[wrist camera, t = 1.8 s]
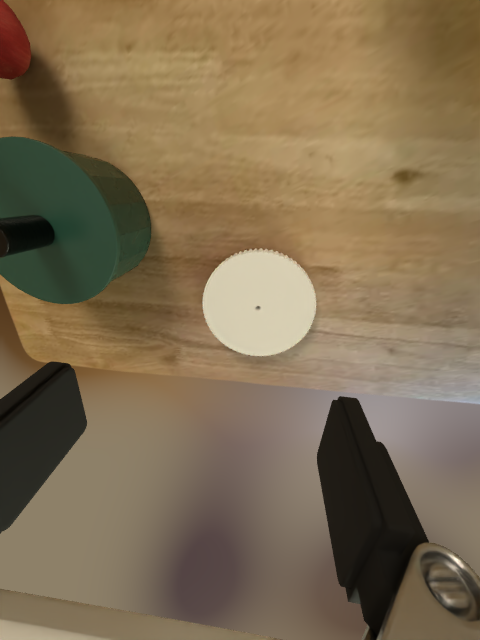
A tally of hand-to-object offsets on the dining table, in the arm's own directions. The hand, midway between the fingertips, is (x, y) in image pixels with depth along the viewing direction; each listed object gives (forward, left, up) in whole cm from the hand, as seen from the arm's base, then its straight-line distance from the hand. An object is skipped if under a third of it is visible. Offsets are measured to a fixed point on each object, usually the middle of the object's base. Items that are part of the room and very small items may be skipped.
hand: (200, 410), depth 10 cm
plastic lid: (+5, +3, -26) cm, 27 cm away
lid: (+1, -19, -17) cm, 26 cm away
